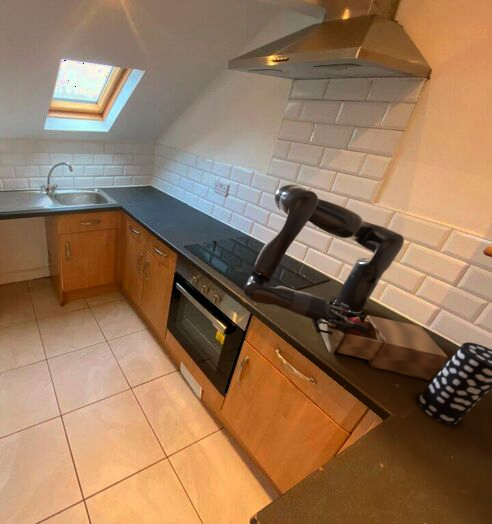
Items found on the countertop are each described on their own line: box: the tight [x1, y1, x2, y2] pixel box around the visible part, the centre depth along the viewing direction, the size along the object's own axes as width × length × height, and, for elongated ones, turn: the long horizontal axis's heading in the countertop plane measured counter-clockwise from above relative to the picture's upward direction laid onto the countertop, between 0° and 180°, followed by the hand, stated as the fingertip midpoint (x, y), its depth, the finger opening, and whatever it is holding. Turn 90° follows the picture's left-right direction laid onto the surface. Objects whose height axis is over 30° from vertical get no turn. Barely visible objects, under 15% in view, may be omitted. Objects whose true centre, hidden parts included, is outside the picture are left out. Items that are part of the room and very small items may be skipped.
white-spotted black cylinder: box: [417, 341, 492, 425], centre depth 75 cm, size 8×8×20 cm
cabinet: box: [365, 314, 448, 381], centre depth 93 cm, size 16×14×10 cm
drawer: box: [311, 317, 384, 361], centre depth 96 cm, size 19×12×8 cm, turn 76°
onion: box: [342, 317, 364, 336], centre depth 94 cm, size 6×6×8 cm
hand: (365, 325), depth 92 cm, fingers closed on onion, 5 cm apart
